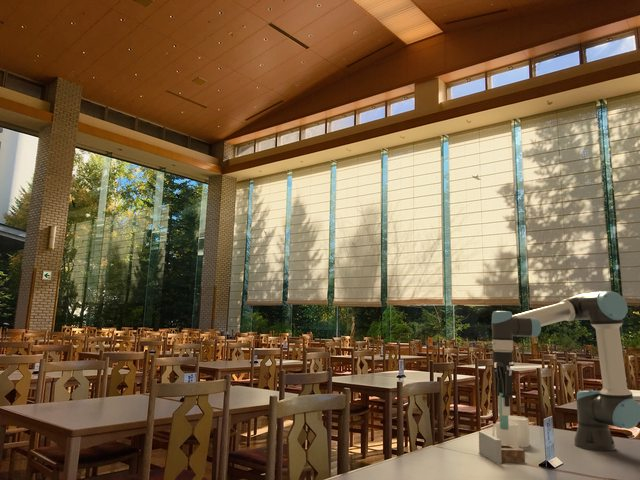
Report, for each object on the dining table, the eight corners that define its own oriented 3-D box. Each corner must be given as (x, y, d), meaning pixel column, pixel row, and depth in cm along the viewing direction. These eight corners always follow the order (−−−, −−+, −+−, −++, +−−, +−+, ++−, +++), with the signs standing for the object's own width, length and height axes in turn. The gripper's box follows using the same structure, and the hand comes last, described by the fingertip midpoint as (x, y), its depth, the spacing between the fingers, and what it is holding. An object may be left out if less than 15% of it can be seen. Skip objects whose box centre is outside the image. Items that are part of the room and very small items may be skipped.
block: (512, 455, 196) (512, 444, 197) (525, 461, 187) (524, 450, 187) (487, 454, 196) (487, 443, 196) (498, 461, 186) (498, 449, 187)
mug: (501, 439, 226) (500, 413, 228) (525, 440, 224) (524, 415, 226) (506, 445, 213) (505, 419, 215) (532, 447, 211) (531, 420, 213)
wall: (484, 452, 199) (483, 431, 200) (501, 463, 183) (501, 440, 184) (479, 452, 198) (478, 431, 200) (496, 463, 183) (495, 440, 184)
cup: (507, 452, 200) (507, 425, 202) (485, 446, 211) (485, 420, 213) (523, 451, 204) (522, 424, 205) (500, 444, 214) (500, 419, 216)
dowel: (506, 428, 194) (505, 392, 197) (509, 429, 191) (509, 393, 194) (498, 427, 194) (498, 392, 196) (502, 429, 191) (501, 393, 194)
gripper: (485, 350, 205) (486, 410, 201) (502, 351, 190) (503, 418, 186) (503, 350, 206) (504, 411, 202) (521, 352, 190) (523, 418, 186)
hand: (504, 414), depth 194 cm, fingers closed on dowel, 3 cm apart
